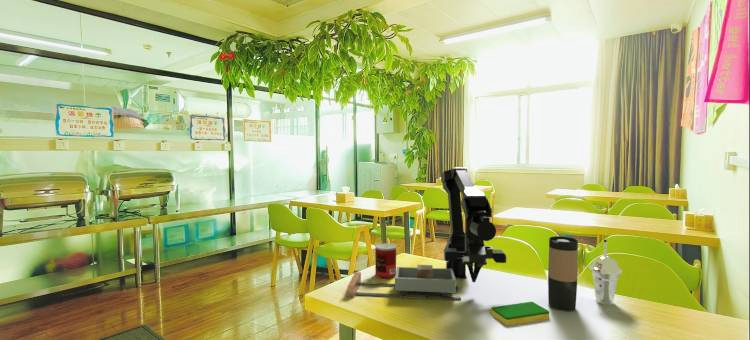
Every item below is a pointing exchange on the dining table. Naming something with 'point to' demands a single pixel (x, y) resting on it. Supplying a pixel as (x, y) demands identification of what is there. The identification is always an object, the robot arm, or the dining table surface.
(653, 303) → the dining table surface
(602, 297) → the cup with straw
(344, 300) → the dining table surface
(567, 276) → the travel mug
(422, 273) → the walnut block
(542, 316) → the dish sponge
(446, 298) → the track
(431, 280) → the grey open tray
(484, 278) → the dining table surface
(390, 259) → the canned food
